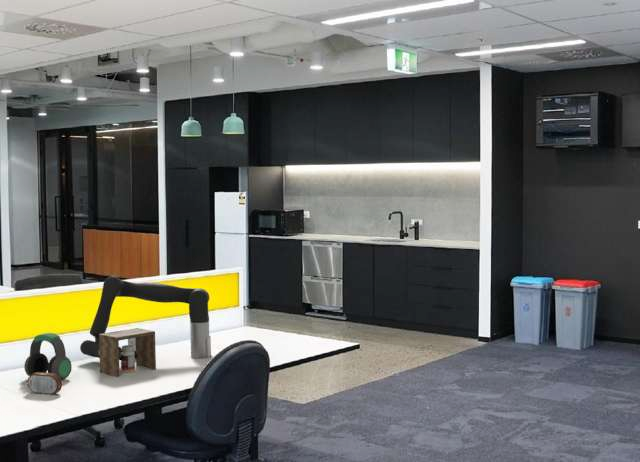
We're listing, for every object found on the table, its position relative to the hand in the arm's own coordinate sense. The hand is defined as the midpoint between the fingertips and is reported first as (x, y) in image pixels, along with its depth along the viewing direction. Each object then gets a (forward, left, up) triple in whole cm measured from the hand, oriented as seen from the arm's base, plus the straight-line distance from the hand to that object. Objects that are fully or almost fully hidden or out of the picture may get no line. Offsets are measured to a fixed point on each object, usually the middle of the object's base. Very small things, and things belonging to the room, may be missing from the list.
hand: (130, 357), depth 362 cm
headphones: (+32, +16, -7) cm, 36 cm away
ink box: (+9, -34, -7) cm, 36 cm away
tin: (+22, +41, -7) cm, 47 cm away
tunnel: (+2, -1, -7) cm, 7 cm away
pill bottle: (+2, -1, -7) cm, 7 cm away
